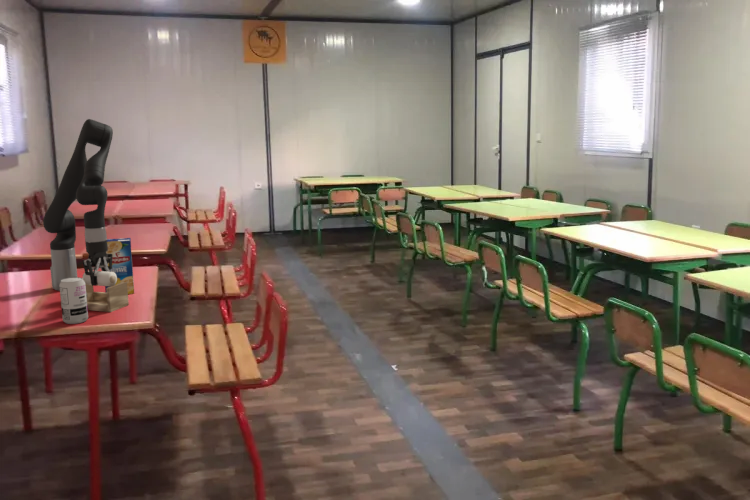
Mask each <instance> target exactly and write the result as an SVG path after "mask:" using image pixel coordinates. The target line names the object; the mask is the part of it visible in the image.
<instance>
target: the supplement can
mask: <svg viewBox="0 0 750 500" xmlns="http://www.w3.org/2000/svg"><path fill="white" fill-rule="evenodd" d="M59 287H60V290H59V295H60V306H61V316H62V322H64V323H65V324H66V325H67V324H68V325H75V324H82V323H84V322H86V321H87V320H88V319H89V312H88V311H89V310H88V308H87V297H86V286H85V282H84V280H83V277H78V276H77V277H73V278H66V279H62V280H61V283H60V285H59Z"/></svg>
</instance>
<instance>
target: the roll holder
mask: <svg viewBox="0 0 750 500" xmlns="http://www.w3.org/2000/svg"><path fill="white" fill-rule="evenodd" d="M85 286H86V297H87V308H88V311H95V312H104V313H112V312H115V311H118V310H120V309H122V308H125V307H127V306H129V305H130V303H129V294H128V289H127V282H123V283H120V284H117V285H114V286H111V287H108V288H106V292H107V293H106V292H104V291H103V292H102V291H94V286H92V285H86V284H85Z"/></svg>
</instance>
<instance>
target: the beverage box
mask: <svg viewBox="0 0 750 500" xmlns="http://www.w3.org/2000/svg"><path fill="white" fill-rule="evenodd" d="M131 240H132V239H131V237H120V238H107V245H108V251H107V252H106V253H107V254H112V255H113V256H112V269H110V270H109V272H114V273H115V274H116V276H117V282H116V284H115V285H117V284H120V283H123V282H127V289H128V295H133V294H135V281H134V269H133V257H132V241H131ZM108 266H109V263H108ZM108 287H110V286H104V289H105V290H104V291H105V293H107V292H106V288H108Z"/></svg>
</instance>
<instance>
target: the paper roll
mask: <svg viewBox="0 0 750 500" xmlns="http://www.w3.org/2000/svg"><path fill="white" fill-rule="evenodd" d="M88 272H89V270H88ZM93 273H94V270H93ZM96 276H97V282H98V285H97V287H98V286H99V287H105V286H110V287H111V286H114V285H115V284H116V282H117V276H116V274H115V273H114V272H106V271H102V270H97V275H96ZM82 278H83V280H84V282H85V284H86V285H92V284H91V278H90V276H89V275H86V274H85V271H84V272H83V274H82Z"/></svg>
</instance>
